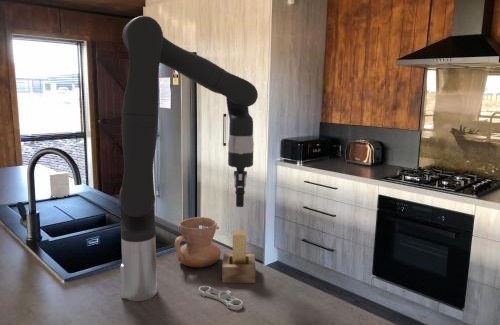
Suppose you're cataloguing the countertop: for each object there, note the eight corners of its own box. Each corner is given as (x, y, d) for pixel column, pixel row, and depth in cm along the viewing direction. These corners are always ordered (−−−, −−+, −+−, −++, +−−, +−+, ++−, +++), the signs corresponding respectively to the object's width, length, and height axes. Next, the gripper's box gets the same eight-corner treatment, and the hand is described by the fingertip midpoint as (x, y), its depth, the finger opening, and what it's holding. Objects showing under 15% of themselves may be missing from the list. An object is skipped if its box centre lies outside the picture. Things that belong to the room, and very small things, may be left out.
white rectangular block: (66, 192, 223) (65, 170, 221) (72, 195, 217) (70, 173, 214) (49, 194, 218) (47, 172, 215) (53, 198, 211) (52, 175, 209)
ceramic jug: (206, 249, 149) (205, 211, 146) (232, 261, 139) (231, 221, 136) (163, 264, 137) (161, 223, 134) (188, 278, 127) (186, 235, 124)
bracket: (223, 310, 106) (196, 286, 118) (223, 317, 107) (196, 292, 119) (247, 302, 110) (218, 279, 122) (246, 309, 111) (218, 285, 123)
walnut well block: (222, 282, 124) (222, 267, 123) (223, 268, 134) (223, 253, 133) (255, 282, 124) (255, 267, 123) (254, 268, 134) (254, 253, 133)
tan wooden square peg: (232, 277, 127) (232, 235, 125) (232, 272, 131) (233, 230, 129) (245, 278, 127) (246, 235, 125) (245, 272, 131) (245, 230, 129)
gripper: (229, 146, 129) (228, 196, 132) (227, 153, 115) (226, 209, 118) (252, 146, 129) (251, 196, 132) (254, 154, 115) (252, 209, 118)
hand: (239, 202), depth 125 cm, fingers open, 8 cm apart
